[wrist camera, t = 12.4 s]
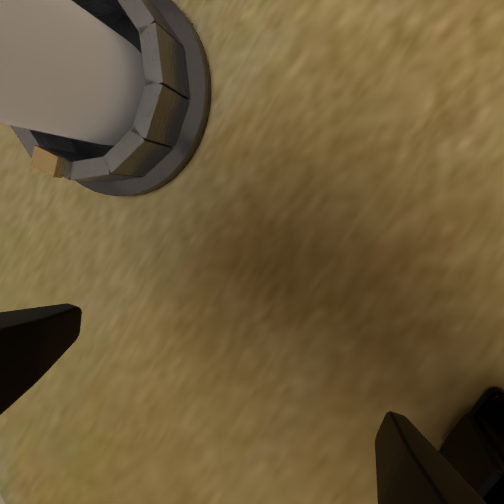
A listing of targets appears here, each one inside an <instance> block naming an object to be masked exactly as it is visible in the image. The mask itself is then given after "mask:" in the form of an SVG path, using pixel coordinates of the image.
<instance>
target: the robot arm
mask: <svg viewBox="0 0 504 504" xmlns="http://www.w3.org/2000/svg"><path fill="white" fill-rule="evenodd" d="M81 315H82V311H81V309H80V308H79V307H77V306H74V305H71V304H59V305H52V306H44V307H37V308H29V309H22V310H15V311H7V312H0V415H1V414H2V413H3V412H4V411H5V410H6V409H7V408H9V407H10V406H11V405H12V404H13V403H14V402H15V401H16V400H17V399H19V398H20V397H21V396H22V395H23V394H24V393H25V392H26V391H27V390H29V389H30V388H31V387H32V386H33V385H34V384H35V383H36V382H37V381H38V380H39V379H40V378H41V377H42V376H43V375H44V374H45V373H46V372H47V371H48V370H49V369H50V368H51V367H52V365H53V364H54V363H55V362H56V361H57V360H58V359H59V358H60V357H61V356H62V355H63V354H64V352H65V351H66V350H67V349H68V348H69V347H70V346H71V345H72V344H73V343H74V342H75V341H76V339H77V338H78V336H79V333H80V325H81ZM496 396H501V399H499V400H493V399H494V397H496ZM375 452H376V473H377V494H378V504H504V390H503V389H500V388H497V387H493V388H490V389H488V390H487V391H486V392H485V394H484V395H483V396H482V397H481V399H480V400H479V401H478V403H477V404H476V405H475V407H474V408H473V409H472V410H471V412H470V413H469V414H466V415H464V417H463V418H462V419H461V421H460V422H459V423H458V424H457V426H456V427H455V428H454V430H453V431H452V432H451V434H450V435H449V436H448V437H447V439H446V440H445V441H444V443H443V444H442V449H441V450H440V452H438V451H437V450H436V449H435V448H434V447H433V446H432V444H431V443H430V442H429V441H428V440H427V439H426V438H425V437H424V436H423V435H422V434H421V433H420V432H419V431H418V429H417V428H416V427H415V426H414V425H413V424H412V423H411V422H410V421H409V420H408V419H407V418H406V417H405V416H403V415H401V414H398V413H395V412H392V411H389V412H387V413H386V415H385V417H384V419H383V421H382V424H381V426H380V428H379V431H378V433H377V435H376V440H375Z"/></svg>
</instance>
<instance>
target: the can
mask: <svg viewBox="0 0 504 504" xmlns="http://www.w3.org/2000/svg"><path fill="white" fill-rule="evenodd" d="M144 86H145V74H144V66H143V59H142V54H141V53H140V52H139V51H138V49H137V48H136V47H135V46H133V45H132V44H131V43H130V42H129V41H127V40H126V39H125V38H123V37H122V36H121V35H119V34H118V33H116V32H115V31H114V30H112V29H111V28H109V27H108V26H107V25H105V24H104V23H102V22H101V21H100V20H98V19H97V18H96V17H94V16H93V15H91V14H90V13H89V12H87V11H86V10H84V9H83V8H81V7H80V6H79V5H77V4H76V3H74V2H73V1H72V0H0V123H3V124H7V125H12V126H17V127H21V128H26V129H30V130H35V131H40V132H44V133H49V134H54V135H58V136H63V137H68V138H72V139H77V140H82V141H87V142H92V143H97V144H102V145H116V144H117V143H118V142H119V141H120V140H121V139H122V138H123V137H124V136H125V135H126V133H127V132H128V131H129V130H130V129H131V128H132V126H133V123H134V119H135V116H136V113H137V109H138V106H139V103H140V99H141V96H142V93H143V89H144Z"/></svg>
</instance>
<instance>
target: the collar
mask: <svg viewBox="0 0 504 504" xmlns="http://www.w3.org/2000/svg"><path fill="white" fill-rule="evenodd" d="M72 1H73V2H74V3H76V4H77V5H79V6H80V7H81V8H83V9H84V10H86V11H87V12H89V13H90V14H91V15H93V16H94V17H96V18H97V19H98V20H100V21H101V22H102V23H104V24H105V25H107V26H108V27H109V28H111V29H112V30H114V31H115V32H116V33H118V34H119V35H121V36H122V37H123V38H125V39H126V40H127V41H129V42H130V43H131V44H132V45H133V46H135V47H136V48H137V49H138V51H139V52H140V53H141V54H142V59H143V66H144V74H145V86H144V89H143V93H142V96H141V99H140V103H139V106H138V109H137V113H136V116H135V119H134V123H133V126H132V128H131V129H130V130H129V131H128V132H127V133H126V135H125V136H124V137H123V138H122V139H121V140H120V141H119V142H118V143H117V144H116V145H102V144H97V143H92V142H87V141H82V140H77V139H72V138H68V137H63V136H58V135H54V134H49V133H44V132H40V131H35V130H30V129H26V128H21V127H17V126H12V125H10V126H11V127H12V129H13V130H14V132H15V134H16V135H17V137H18V138H19V140H20V141H21V143H22V144H23V146H24V147H25V149H26V150H27V152H28V153H29V155H30V157H31V158H32V159H31V164H30V165H32V166H34V167H35V168H37V169H39V170H41V171H43V172H45V173H46V174H48V175H50V176H52V177H58V178H62V176H63V177H65V178H67V179H69V180H75V181H77V182H78V183H80V184H81V185H83V186H85V187H86V188H88V189H91V190H93V191H95V192H99V193H102V194H106V195H115V196H132V195H140V194H145V193H148V192H151V191H154V190H156V189H158V188H160V187H162V186H164V185H165V184H167V183H168V182H169V181H171V180H172V179H173V178H175V177H176V176H177V175H178V174H179V173H180V172H181V171H182V170H183V169H184V168H185V166H186V165H187V164H188V162H189V161H190V160H191V158H192V157H193V155H194V153H195V151H196V150H197V148H198V146H199V144H200V141H201V139H202V137H203V134H204V131H205V128H206V124H207V121H208V115H209V110H210V100H211V81H210V72H209V66H208V61H207V57H206V54H205V50H204V47H203V45H202V43H201V40H200V38H199V36H198V34H197V32H196V30H195V29H194V27H193V25H192V24H191V22H190V21H189V20H188V19H187V17H186V16H185V15H184V13H183V12H182V11H181V10H180V9H179V8H178V7H177V6H176V5H175V3H174V2H173V1H171V0H72Z"/></svg>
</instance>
